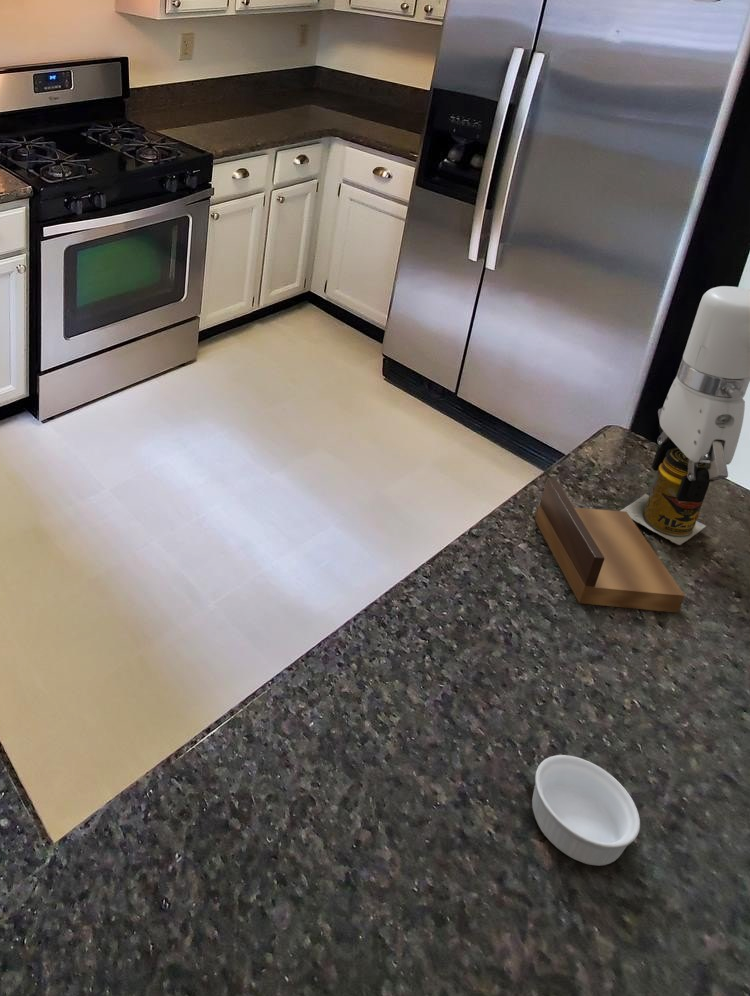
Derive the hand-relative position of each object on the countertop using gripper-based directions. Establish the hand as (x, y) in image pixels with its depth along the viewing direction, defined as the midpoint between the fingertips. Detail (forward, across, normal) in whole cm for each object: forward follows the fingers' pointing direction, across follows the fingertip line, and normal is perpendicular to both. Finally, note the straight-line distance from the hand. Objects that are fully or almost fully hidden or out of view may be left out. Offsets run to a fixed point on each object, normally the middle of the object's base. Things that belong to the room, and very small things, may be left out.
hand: (676, 483), depth 114 cm
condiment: (+7, +1, 0) cm, 7 cm away
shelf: (+8, -9, +12) cm, 17 cm away
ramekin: (+8, -47, +30) cm, 56 cm away
